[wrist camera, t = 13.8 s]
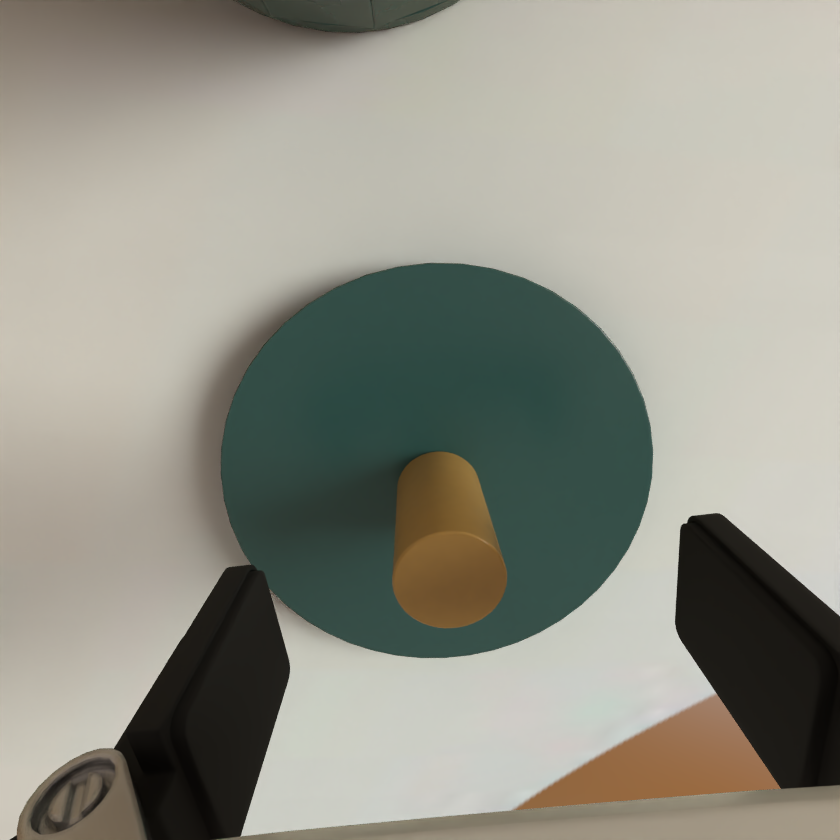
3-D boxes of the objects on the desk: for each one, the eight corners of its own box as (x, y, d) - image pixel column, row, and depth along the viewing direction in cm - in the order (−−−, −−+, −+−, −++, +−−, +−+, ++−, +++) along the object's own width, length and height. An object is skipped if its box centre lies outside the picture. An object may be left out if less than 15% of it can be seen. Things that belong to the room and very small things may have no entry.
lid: (414, 691, 21) (416, 863, 15) (146, 454, 17) (7, 557, 11) (711, 492, 18) (859, 605, 12) (468, 156, 14) (510, 84, 8)
